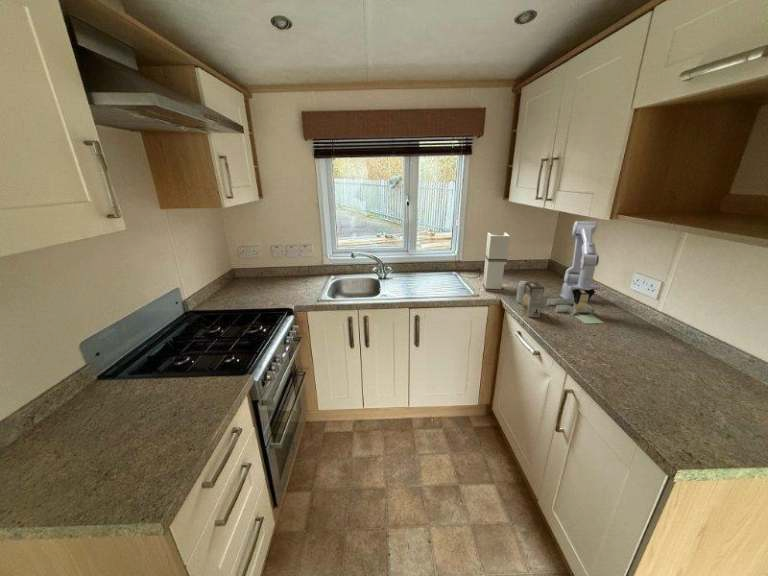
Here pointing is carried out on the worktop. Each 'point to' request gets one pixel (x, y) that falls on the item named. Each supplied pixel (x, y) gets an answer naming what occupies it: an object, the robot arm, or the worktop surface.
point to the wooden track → (567, 305)
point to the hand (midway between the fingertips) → (580, 302)
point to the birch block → (582, 302)
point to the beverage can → (520, 292)
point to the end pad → (589, 319)
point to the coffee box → (532, 299)
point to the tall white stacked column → (495, 262)
